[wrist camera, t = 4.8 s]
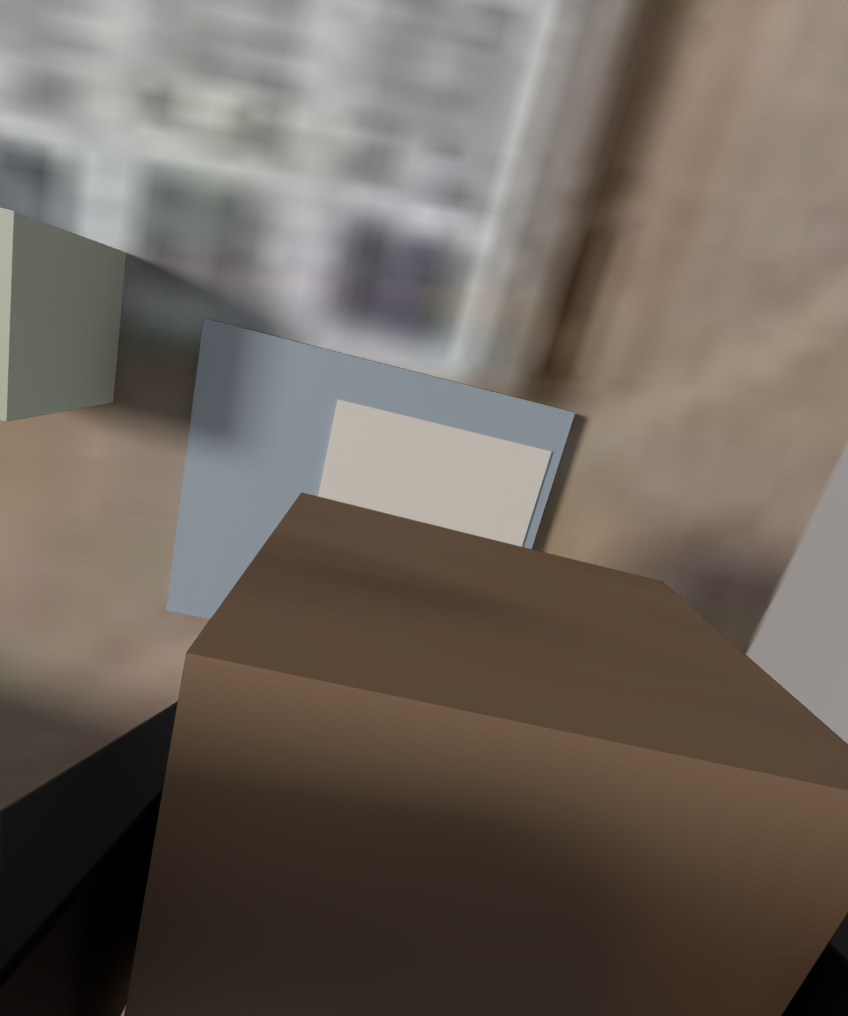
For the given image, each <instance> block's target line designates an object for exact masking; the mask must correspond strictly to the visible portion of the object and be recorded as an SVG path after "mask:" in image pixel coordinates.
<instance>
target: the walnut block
mask: <svg viewBox="0 0 848 1016" xmlns="http://www.w3.org/2000/svg"><path fill="white" fill-rule="evenodd" d="M847 913H848V744H847V743H846V742H844V741H843V740H842V739H841V738H840V737H839V736H838V735H837V734H835V733H834V732H833V731H832V730H831V729H830V728H829V727H828V726H826V725H825V724H824V723H823V722H822V721H821V720H819V719H818V718H817V717H816V716H815V715H814V714H813V713H811V712H810V711H809V710H808V709H807V708H806V707H805V706H804V705H802V704H801V703H800V702H799V701H798V700H797V699H796V698H794V697H793V696H792V695H791V694H790V693H789V692H788V691H786V690H785V689H784V688H783V687H782V686H781V685H779V683H777V682H776V681H775V680H774V679H773V678H771V676H769V675H768V674H767V673H766V672H765V671H764V670H763V669H761V668H760V667H759V666H758V665H757V664H755V662H753V661H752V660H751V659H750V658H749V657H748V656H747V655H745V654H744V653H743V652H742V651H741V650H740V649H739V648H737V647H736V646H735V645H734V644H733V643H732V642H731V641H730V640H728V639H727V638H726V637H725V636H724V635H723V634H722V633H720V632H719V631H718V630H717V629H716V628H715V627H714V626H712V625H711V624H710V623H709V622H708V621H707V620H706V619H704V618H703V617H702V616H701V615H700V614H699V613H698V612H696V611H695V610H694V609H693V608H692V607H691V606H690V605H688V604H687V603H686V602H685V601H684V600H683V599H682V598H680V597H679V596H678V595H677V594H676V593H675V592H674V591H673V590H671V589H670V588H669V587H668V586H667V585H666V584H665V583H663V582H662V581H658V580H654V579H650V578H646V577H642V576H638V575H634V574H630V573H626V572H622V571H618V570H614V569H609V568H605V567H601V566H597V565H593V564H589V563H585V562H581V561H577V560H573V559H569V558H565V557H561V556H557V555H553V554H549V553H545V552H541V551H537V550H533V549H529V548H525V547H521V546H517V545H513V544H508V543H504V542H500V541H496V540H492V539H488V538H484V537H480V536H476V535H472V534H468V533H464V532H460V531H456V530H452V529H448V528H444V527H440V526H436V525H432V524H428V523H424V522H420V521H416V520H412V519H407V518H403V517H399V516H395V515H391V514H387V513H383V512H379V511H375V510H371V509H367V508H363V507H359V506H355V505H351V504H347V503H343V502H339V501H335V500H331V499H327V498H323V497H319V496H315V495H310V494H306V493H302V492H301V493H300V495H299V496H298V498H297V499H296V500H295V502H294V503H293V505H292V506H291V507H290V509H289V510H288V512H287V513H286V514H285V516H284V517H283V519H282V520H281V521H280V523H279V524H278V526H277V527H276V528H275V530H274V531H273V532H272V534H271V535H270V537H269V538H268V539H267V541H266V542H265V544H264V545H263V546H262V548H261V549H260V551H259V552H258V553H257V555H256V556H255V558H254V559H253V560H252V562H251V563H250V565H249V566H248V567H247V569H246V570H245V571H244V573H243V574H242V576H241V577H240V578H239V580H238V581H237V583H236V584H235V585H234V587H233V588H232V590H231V591H230V592H229V594H228V595H227V597H226V598H225V599H224V601H223V602H222V603H221V605H220V606H219V608H218V609H217V610H216V612H215V613H214V615H213V616H212V617H211V619H210V620H209V622H208V623H207V624H206V626H205V627H204V629H203V630H202V631H201V633H200V634H199V636H198V637H197V638H196V640H195V641H194V642H193V644H192V645H191V647H190V648H189V649H188V651H187V652H186V657H185V663H184V669H183V674H182V680H181V686H180V692H179V698H178V704H177V710H176V715H175V721H174V727H173V733H172V739H171V745H170V751H169V756H168V762H167V768H166V774H165V780H164V786H163V792H162V798H161V803H160V809H159V815H158V821H157V827H156V833H155V839H154V844H153V850H152V856H151V862H150V868H149V874H148V880H147V885H146V891H145V897H144V903H143V909H142V915H141V921H140V927H139V932H138V938H137V944H136V950H135V956H134V962H133V968H132V973H131V979H130V985H129V991H128V997H127V1003H126V1009H125V1014H124V1016H781V1015H782V1014H783V1012H784V1010H785V1009H786V1007H787V1006H788V1004H789V1003H790V1001H791V1000H792V998H793V997H794V995H795V993H796V992H797V990H798V989H799V987H800V986H801V984H802V983H803V981H804V979H805V978H806V976H807V975H808V973H809V972H810V970H811V969H812V967H813V965H814V964H815V962H816V961H817V959H818V958H819V956H820V955H821V953H822V951H823V950H824V948H825V947H826V945H827V944H828V942H829V941H830V939H831V938H832V936H833V934H834V933H835V931H836V930H837V928H838V927H839V925H840V924H841V922H842V920H843V919H844V917H845V916H846V914H847Z"/></svg>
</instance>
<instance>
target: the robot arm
mask: <svg viewBox="0 0 848 1016" xmlns="http://www.w3.org/2000/svg"><path fill="white" fill-rule="evenodd" d="M177 704H178V701H177V702H176V703H174V704H172V705H171V706H169V707H168V708H166V709H164V710H163V711H161V712H159V713H158V714H156V715H155V716H153V717H151V718H150V719H148V720H146V721H145V722H143V723H142V724H140V725H138V726H137V727H135V728H133V729H132V730H130V731H128V732H127V733H125V734H124V735H122V736H120V737H119V738H117V739H115V740H114V741H112V742H111V743H109V744H107V745H106V746H104V747H102V748H101V749H99V750H98V751H96V752H94V753H93V754H91V755H89V756H88V757H86V758H85V759H83V760H81V761H80V762H78V763H76V764H75V765H73V766H72V767H70V768H68V769H67V770H65V771H63V772H62V773H60V774H58V775H57V776H55V777H54V778H52V779H50V780H49V781H47V782H45V783H44V784H42V785H41V786H39V787H37V788H36V789H34V790H32V791H31V792H29V793H28V794H26V795H24V796H23V797H21V798H19V799H18V800H16V801H15V802H13V803H11V804H10V805H8V806H6V807H5V808H3V809H2V810H0V1016H121V1014H122V1012H123V1010H124V1007H125V1005H126V1003H127V997H128V991H129V985H130V979H131V973H132V968H133V962H134V956H135V950H136V944H137V938H138V932H139V927H140V921H141V915H142V909H143V903H144V897H145V891H146V885H147V880H148V874H149V868H150V862H151V856H152V850H153V844H154V839H155V833H156V827H157V821H158V815H159V809H160V803H161V798H162V792H163V786H164V780H165V774H166V768H167V762H168V756H169V751H170V745H171V739H172V733H173V727H174V721H175V715H176V710H177ZM781 1016H848V913H847V914H846V916H845V917H844V919H843V920H842V922H841V924H840V925H839V927H838V928H837V930H836V931H835V933H834V934H833V936H832V938H831V939H830V941H829V942H828V944H827V945H826V947H825V948H824V950H823V951H822V953H821V955H820V956H819V958H818V959H817V961H816V962H815V964H814V965H813V967H812V969H811V970H810V972H809V973H808V975H807V976H806V978H805V979H804V981H803V983H802V984H801V986H800V987H799V989H798V990H797V992H796V993H795V995H794V997H793V998H792V1000H791V1001H790V1003H789V1004H788V1006H787V1007H786V1009H785V1010H784V1012H783V1014H782V1015H781Z"/></svg>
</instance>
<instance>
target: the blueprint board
mask: <svg viewBox="0 0 848 1016" xmlns="http://www.w3.org/2000/svg"><path fill="white" fill-rule="evenodd" d="M574 415H575V413H574V412H571V411H568V410H564V409H560V408H556V407H552V406H548V405H544V404H540V403H536V402H533V401H529V400H525V399H521V398H517V397H513V396H509V395H505V394H501V393H497V392H493V391H489V390H485V389H481V388H477V387H473V386H470V385H466V384H462V383H458V382H454V381H450V380H446V379H442V378H438V377H434V376H430V375H426V374H422V373H418V372H414V371H410V370H407V369H403V368H399V367H395V366H391V365H387V364H383V363H379V362H375V361H371V360H367V359H363V358H359V357H355V356H351V355H347V354H343V353H340V352H336V351H332V350H328V349H324V348H320V347H316V346H312V345H308V344H304V343H300V342H296V341H292V340H288V339H284V338H280V337H277V336H273V335H269V334H265V333H261V332H257V331H253V330H249V329H245V328H241V327H237V326H233V325H229V324H225V323H221V322H217V321H214V320H209V319H204V320H203V327H202V335H201V343H200V351H199V359H198V366H197V374H196V382H195V390H194V397H193V405H192V413H191V421H190V429H189V436H188V444H187V452H186V460H185V468H184V475H183V483H182V491H181V499H180V506H179V514H178V522H177V530H176V538H175V545H174V553H173V561H172V569H171V576H170V584H169V592H168V600H167V608H166V610H167V611H172V612H177V613H182V614H187V615H192V616H198V617H203V618H208V619H211V617H212V616H213V615H214V613H215V612H216V610H217V609H218V608H219V606H220V605H221V603H222V602H223V601H224V599H225V598H226V597H227V595H228V594H229V592H230V591H231V590H232V588H233V587H234V585H235V584H236V583H237V581H238V580H239V578H240V577H241V576H242V574H243V573H244V571H245V570H246V569H247V567H248V566H249V565H250V563H251V562H252V560H253V559H254V558H255V556H256V555H257V553H258V552H259V551H260V549H261V548H262V546H263V545H264V544H265V542H266V541H267V539H268V538H269V537H270V535H271V534H272V532H273V531H274V530H275V528H276V527H277V526H278V524H279V523H280V521H281V520H282V519H283V517H284V516H285V514H286V513H287V512H288V510H289V509H290V507H291V506H292V505H293V503H294V502H295V500H296V499H297V498H298V496H299V495H300V493H301V492H302V493H306V494H310V495H315V496H319V497H323V498H327V499H331V500H335V501H339V502H343V503H347V504H351V505H355V506H359V507H363V508H367V509H371V510H375V511H379V512H383V513H387V514H391V515H395V516H399V517H403V518H407V519H412V520H416V521H420V522H424V523H428V524H432V525H436V526H440V527H444V528H448V529H452V530H456V531H460V532H464V533H468V534H472V535H476V536H480V537H484V538H488V539H492V540H496V541H500V542H504V543H508V544H513V545H517V546H521V547H525V548H529V549H532V546H533V543H534V540H535V537H536V534H537V531H538V527H539V524H540V521H541V518H542V515H543V512H544V509H545V506H546V502H547V499H548V496H549V493H550V490H551V487H552V484H553V481H554V477H555V474H556V471H557V468H558V465H559V462H560V459H561V456H562V452H563V449H564V446H565V443H566V440H567V437H568V434H569V431H570V428H571V424H572V421H573V418H574Z"/></svg>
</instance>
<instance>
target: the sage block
mask: <svg viewBox="0 0 848 1016" xmlns="http://www.w3.org/2000/svg"><path fill="white" fill-rule="evenodd" d="M125 262H126V252H123V251H120V250H118V249H115V248H112V247H110V246H107V245H104V244H101V243H99V242H96V241H93V240H90V239H88V238H85V237H82V236H80V235H77V234H74V233H71V232H69V231H66V230H63V229H61V228H58V227H55V226H52V225H50V224H47V223H44V222H42V221H39V220H36V219H33V218H31V217H28V216H25V215H23V214H20V213H17V212H14V211H11V210H7V209H3V208H0V420H2V421H12V420H18V419H23V418H29V417H35V416H40V415H46V414H52V413H57V412H63V411H68V410H74V409H80V408H85V407H91V406H97V405H102V404H108V403H113V398H114V387H115V376H116V364H117V353H118V342H119V330H120V319H121V308H122V296H123V285H124V274H125Z"/></svg>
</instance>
